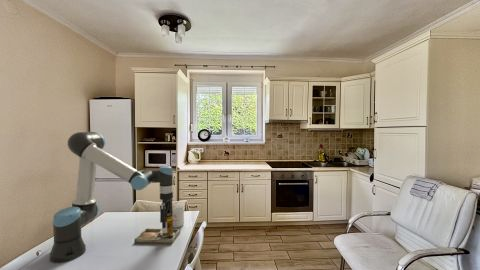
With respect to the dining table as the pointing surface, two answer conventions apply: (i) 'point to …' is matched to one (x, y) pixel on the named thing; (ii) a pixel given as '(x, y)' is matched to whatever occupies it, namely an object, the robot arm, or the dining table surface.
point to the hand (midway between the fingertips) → (166, 230)
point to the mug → (178, 217)
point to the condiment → (169, 226)
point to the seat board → (156, 237)
